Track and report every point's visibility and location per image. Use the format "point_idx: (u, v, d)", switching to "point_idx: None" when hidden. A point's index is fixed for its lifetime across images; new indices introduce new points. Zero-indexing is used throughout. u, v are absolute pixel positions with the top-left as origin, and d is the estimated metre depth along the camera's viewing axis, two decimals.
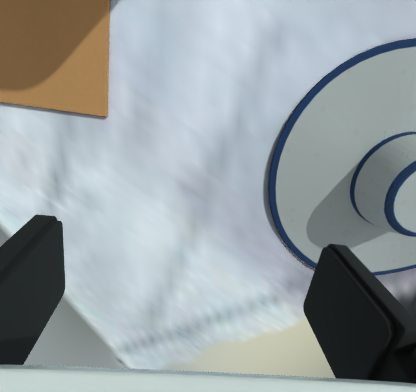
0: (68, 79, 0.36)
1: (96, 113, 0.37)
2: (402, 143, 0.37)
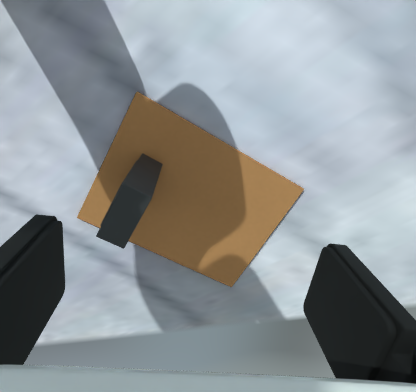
0: (260, 204, 0.39)
1: (296, 196, 0.39)
2: None
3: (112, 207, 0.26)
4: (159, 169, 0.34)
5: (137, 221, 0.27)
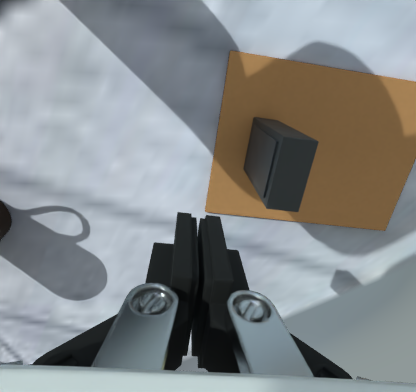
0: (397, 125, 0.33)
1: None
2: None
3: (277, 169, 0.23)
4: (283, 123, 0.30)
5: (307, 175, 0.23)
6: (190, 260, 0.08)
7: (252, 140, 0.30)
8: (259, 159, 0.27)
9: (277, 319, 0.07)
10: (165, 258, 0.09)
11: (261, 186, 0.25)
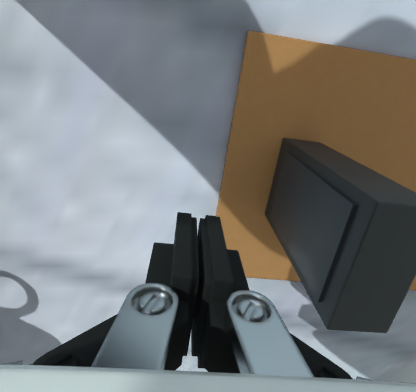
0: None
1: None
2: None
3: (357, 262, 0.11)
4: (336, 151, 0.18)
5: (415, 272, 0.11)
6: (190, 260, 0.08)
7: (283, 177, 0.19)
8: (303, 219, 0.15)
9: (277, 319, 0.07)
10: (166, 258, 0.09)
11: (311, 275, 0.14)
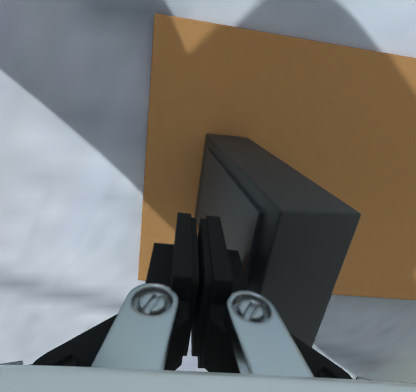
0: None
1: None
2: None
3: (266, 281, 0.09)
4: (260, 147, 0.16)
5: (332, 285, 0.10)
6: (190, 260, 0.08)
7: (206, 178, 0.17)
8: None
9: (277, 319, 0.07)
10: (166, 258, 0.09)
11: None
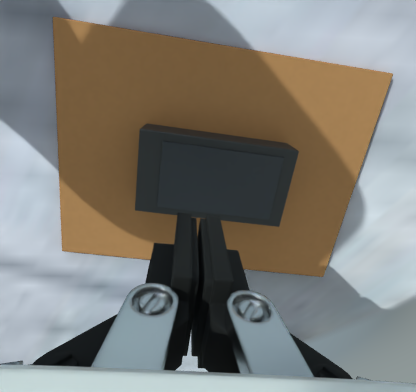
0: (324, 130, 0.23)
1: (383, 91, 0.22)
2: None
3: None
4: (181, 128, 0.22)
5: None
6: (190, 260, 0.08)
7: (171, 165, 0.20)
8: (228, 185, 0.21)
9: (277, 319, 0.07)
10: (166, 258, 0.09)
11: (256, 211, 0.22)
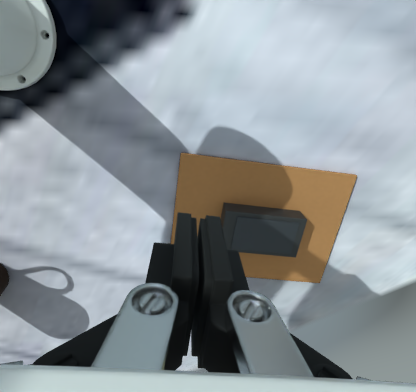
0: (320, 203, 0.41)
1: (352, 184, 0.40)
2: None
3: (302, 235, 0.40)
4: (242, 204, 0.40)
5: None
6: (190, 260, 0.08)
7: (240, 227, 0.38)
8: (269, 237, 0.39)
9: (277, 319, 0.07)
10: (166, 258, 0.09)
11: (283, 249, 0.40)
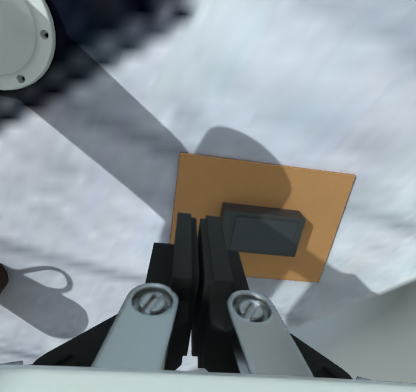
0: (319, 203, 0.41)
1: (351, 184, 0.40)
2: None
3: None
4: (242, 204, 0.40)
5: None
6: (190, 260, 0.08)
7: (240, 227, 0.38)
8: (268, 236, 0.39)
9: (277, 319, 0.07)
10: (166, 258, 0.09)
11: (282, 249, 0.40)
